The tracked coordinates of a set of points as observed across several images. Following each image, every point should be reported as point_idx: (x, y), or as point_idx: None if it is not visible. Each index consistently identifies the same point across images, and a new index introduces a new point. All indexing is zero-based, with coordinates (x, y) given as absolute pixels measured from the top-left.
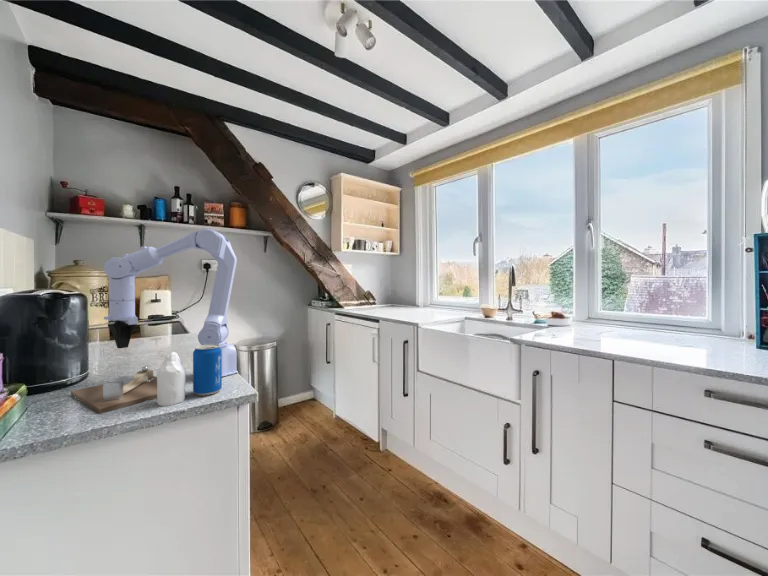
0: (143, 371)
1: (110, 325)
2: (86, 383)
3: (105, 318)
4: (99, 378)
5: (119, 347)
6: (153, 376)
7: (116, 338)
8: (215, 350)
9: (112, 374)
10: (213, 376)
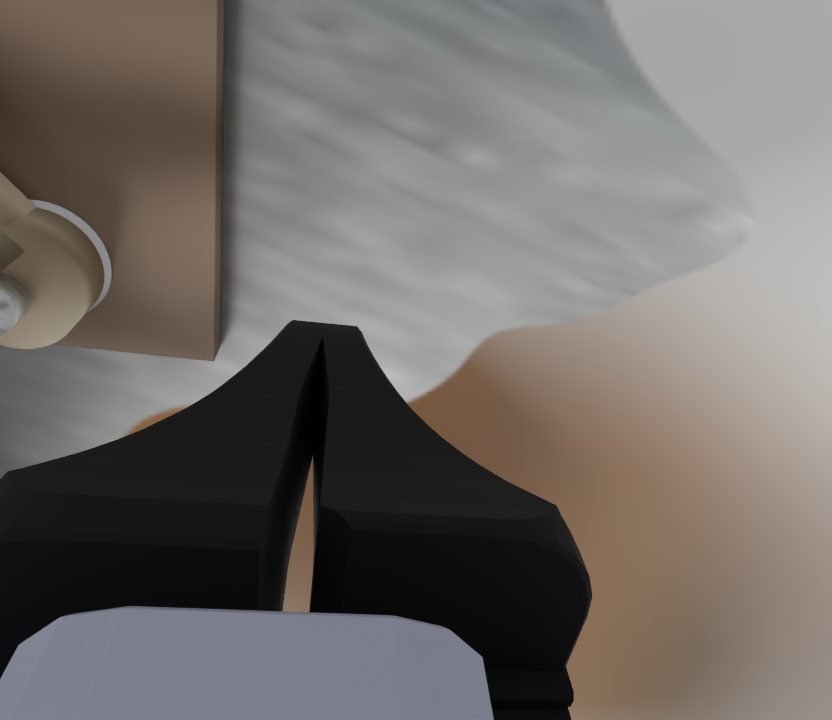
0: (25, 286)
1: (324, 520)
2: (536, 18)
3: (100, 667)
4: (590, 161)
5: (285, 328)
6: (121, 346)
7: (278, 377)
8: None
9: (608, 271)
10: None
